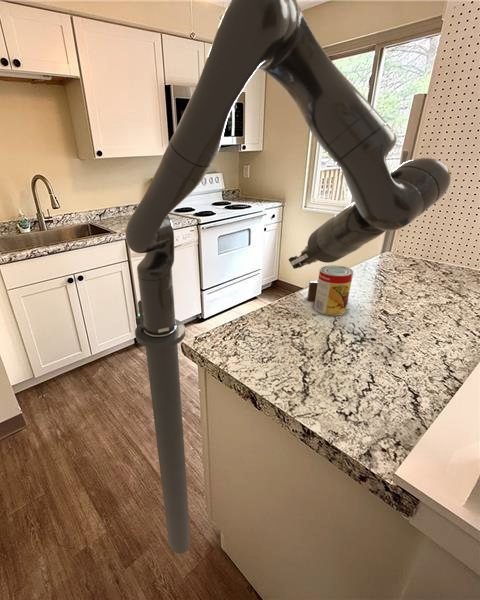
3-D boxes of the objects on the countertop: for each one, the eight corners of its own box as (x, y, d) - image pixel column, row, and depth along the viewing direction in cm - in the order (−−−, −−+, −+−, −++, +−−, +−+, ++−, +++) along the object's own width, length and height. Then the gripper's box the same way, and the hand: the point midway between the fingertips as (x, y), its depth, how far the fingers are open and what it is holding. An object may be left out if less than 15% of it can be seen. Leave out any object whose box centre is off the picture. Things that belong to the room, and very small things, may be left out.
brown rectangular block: (307, 300, 95) (310, 282, 93) (307, 297, 97) (309, 280, 94) (345, 303, 91) (349, 284, 89) (344, 300, 93) (347, 281, 91)
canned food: (352, 311, 87) (360, 271, 82) (329, 318, 85) (337, 277, 80) (329, 301, 94) (335, 263, 88) (307, 306, 92) (313, 268, 87)
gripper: (357, 206, 60) (314, 238, 77) (297, 235, 60) (267, 261, 77) (379, 239, 59) (330, 264, 76) (317, 269, 59) (282, 288, 76)
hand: (298, 263), depth 77 cm, fingers closed
